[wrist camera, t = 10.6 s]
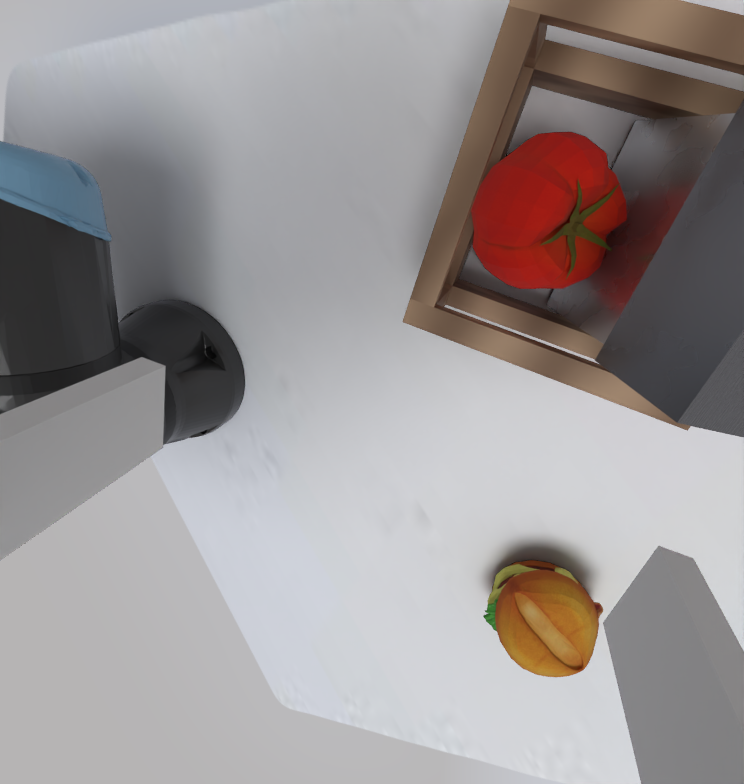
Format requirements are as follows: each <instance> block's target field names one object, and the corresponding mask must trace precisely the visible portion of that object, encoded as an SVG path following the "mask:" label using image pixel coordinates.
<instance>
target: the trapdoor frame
mask: <svg viewBox="0 0 744 784" xmlns="http://www.w3.org/2000/svg"><path fill="white" fill-rule="evenodd" d="M547 24H548V25H552V26H556V27H560V28H564V29H567V30H571V31H575V32H579V33H583V34H587V35H591V36H595V37H598V38H602V39H606V40H610V41H614V42H618V43H622V44H626V45H630V46H633V47H637V48H641V49H645V50H649V51H653V52H657V53H661V54H665V55H668V56H672V57H676V58H680V59H684V60H688V61H692V62H696V63H699V64H703V65H707V66H711V67H715V68H719V69H723V70H727V71H731V72H734V73H738V74H742V75H744V15H739V14H735V13H731V12H727V11H723V10H719V9H714V8H710V7H706V6H702V5H698V4H693V3H689V2H685V1H681V0H510V2H509V5H508V8H507V11H506V14H505V17H504V20H503V23H502V26H501V29H500V32H499V35H498V38H497V41H496V44H495V47H494V50H493V53H492V56H491V59H490V62H489V65H488V68H487V71H486V74H485V77H484V80H483V83H482V86H481V89H480V92H479V95H478V98H477V101H476V104H475V107H474V110H473V113H472V116H471V119H470V122H469V125H468V128H467V131H466V134H465V136H464V139H463V142H462V145H461V148H460V151H459V154H458V157H457V160H456V163H455V166H454V169H453V172H452V175H451V178H450V181H449V184H448V187H447V190H446V193H445V196H444V199H443V202H442V205H441V208H440V211H439V214H438V217H437V220H436V223H435V226H434V229H433V232H432V235H431V238H430V241H429V244H428V247H427V250H426V253H425V256H424V259H423V262H422V265H421V268H420V271H419V274H418V277H417V280H416V283H415V286H414V289H413V292H412V295H411V298H410V301H409V304H408V307H407V310H406V313H405V316H404V319H403V322H404V323H407V324H409V325H412V326H414V327H417V328H420V329H422V330H425V331H428V332H430V333H433V334H436V335H438V336H441V337H443V338H446V339H449V340H451V341H454V342H457V343H459V344H462V345H464V346H467V347H470V348H472V349H475V350H478V351H480V352H483V353H485V354H488V355H491V356H493V357H496V358H499V359H501V360H504V361H506V362H509V363H512V364H514V365H517V366H520V367H522V368H525V369H527V370H530V371H533V372H535V373H538V374H541V375H543V376H546V377H548V378H551V379H554V380H556V381H559V382H562V383H564V384H567V385H569V386H572V387H575V388H577V389H580V390H583V391H585V392H588V393H591V394H593V395H596V396H598V397H601V398H604V399H606V400H609V401H612V402H614V403H617V404H619V405H622V406H625V407H627V408H630V409H633V410H635V411H638V412H640V413H643V414H646V415H648V416H651V417H654V418H656V419H659V420H661V421H664V422H667V423H669V424H672V425H675V426H677V427H680V428H682V429H685V430H688V429H689V428H690V426H689V425H685V424H680V423H677V422H675V421H674V420H673V419H671V418H670V417H669V416H667V415H666V414H665V413H663V412H662V411H661V410H660V409H658V408H657V407H656V406H654V405H653V404H652V403H650V402H649V401H648V400H646V399H645V398H644V397H642V396H641V395H640V394H638V393H637V392H636V391H635V390H633V389H632V388H631V387H629V386H628V385H627V384H625V383H624V382H623V381H621V380H620V379H619V378H617V377H616V376H615V375H613V374H612V373H611V372H610V371H608V370H607V369H606V368H604V367H603V366H602V365H600V364H597V363H594V362H592V361H589V360H586V359H584V358H581V357H578V356H575V355H573V354H570V353H567V352H565V351H562V350H559V349H556V348H554V347H551V346H548V345H546V344H543V343H540V342H538V341H535V340H532V339H529V338H527V337H524V336H521V335H519V334H516V333H513V332H510V331H508V330H505V329H502V328H500V327H497V326H494V325H492V324H489V323H486V322H483V321H481V320H478V319H475V318H473V317H470V316H467V315H464V314H462V313H459V312H456V311H454V310H451V309H448V308H446V307H444V306H445V305H449V306H451V307H454V308H457V309H460V310H462V311H465V312H468V313H470V314H473V315H476V316H479V317H481V318H484V319H487V320H489V321H492V322H495V323H498V324H500V325H503V326H506V327H508V328H511V329H514V330H517V331H519V332H522V333H525V334H527V335H530V336H533V337H536V338H538V339H541V340H544V341H546V342H549V343H552V344H555V345H557V346H560V347H563V348H565V349H568V350H571V351H574V352H576V353H579V354H582V355H584V356H587V357H590V358H593V359H596V357H597V355H598V354H599V352H600V350H601V348H602V347H603V345H604V344H603V343H601V342H600V341H598V340H597V339H595V338H594V337H592V336H591V335H590V334H588V333H587V332H585V331H584V330H582V329H581V328H579V327H578V326H576V325H575V324H573V323H572V322H570V321H569V320H568V319H566V318H565V317H563V316H562V315H559V314H556V313H553V312H550V311H548V310H545V309H542V308H539V307H536V306H534V305H531V304H528V303H525V302H522V301H520V300H517V299H514V298H511V297H508V296H506V295H503V294H500V293H497V292H494V291H492V290H489V289H486V288H483V287H480V286H478V285H475V284H472V283H469V282H467V281H464V280H461V279H459V277H460V274H461V272H462V269H463V266H464V264H465V261H466V258H467V256H468V253H469V251H470V248H471V245H472V243H473V237H474V227H473V220H472V213H471V209H472V206H473V203H474V200H475V198H476V195H477V192H478V189H479V187H480V185H481V183H482V182H483V180H484V179H485V177H486V176H487V174H488V173H489V171H490V170H491V168H492V167H493V166H494V165H496V164H497V163H498V162H500V161H501V160H502V159H504V158H505V155H506V153H507V150H508V148H509V145H510V142H511V140H512V137H513V134H514V132H515V129H516V126H517V124H518V121H519V119H520V116H521V113H522V111H523V108H524V105H525V103H526V100H527V97H528V95H529V92H530V89H531V87H532V85H533V86H536V87H540V88H543V89H547V90H550V91H554V92H558V93H561V94H565V95H568V96H572V97H575V98H579V99H582V100H586V101H590V102H593V103H597V104H600V105H604V106H607V107H611V108H615V109H618V110H622V111H625V112H629V113H632V114H636V115H640V116H643V117H647V118H650V119H664V118H677V117H690V116H703V115H717V114H730V113H736V112H737V110H738V108H739V106H740V105H741V103H742V101H743V99H744V92H743V91H739V90H735V89H731V88H727V87H724V86H720V85H716V84H712V83H708V82H705V81H701V80H697V79H693V78H689V77H686V76H682V75H678V74H674V73H670V72H667V71H663V70H659V69H655V68H651V67H648V66H644V65H640V64H636V63H632V62H629V61H625V60H621V59H617V58H613V57H610V56H606V55H602V54H598V53H594V52H591V51H587V50H583V49H579V48H575V47H572V46H568V45H564V44H560V43H556V42H553V41H549V40H545V37H546V30H547Z"/></svg>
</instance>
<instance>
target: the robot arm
mask: <svg viewBox="0 0 744 784" xmlns="http://www.w3.org/2000/svg"><path fill="white" fill-rule="evenodd" d="M109 241H111V234H110V233H108V231H107V225H106V220H105V214H104V209H103V203H102V197H101V192H100V188H99V186H98V183H97V181H96V180H95V178H94V177H93V176H92V174H91V173H90V172H89V171H88V170H86V169H85V168H84V167H83V166H81V165H80V164H78V163H76V162H74V161H72V160H69V159H66V158H62V157H59V156H55V155H52V154H48V153H44V152H40V151H37V150H33V149H29V148H25V147H21V146H17V145H13V144H9V143H5V142H1V141H0V560H2V559H3V558H5V557H6V556H7V555H9V554H10V553H12V552H13V551H15V550H16V549H17V548H19V547H20V546H22V545H23V544H25V543H26V542H27V541H29V540H30V539H32V538H33V537H35V536H36V535H38V534H39V533H41V532H42V531H43V530H45V529H46V528H48V527H49V526H50V525H52V524H54V523H55V522H56V521H58V520H59V519H61V518H62V517H64V516H65V515H67V514H68V513H69V512H71V511H72V510H74V509H75V508H77V507H78V506H79V505H81V504H82V503H84V502H85V501H87V500H88V499H90V498H91V497H92V496H94V495H95V494H97V493H98V492H100V491H101V490H102V489H104V488H105V487H107V486H108V485H110V484H111V483H113V482H114V481H116V480H117V479H118V478H120V477H121V476H123V475H124V474H126V473H127V472H128V471H130V470H131V469H133V468H134V467H136V466H137V465H139V464H140V463H141V462H143V461H144V460H146V459H147V458H149V457H150V456H152V455H153V454H154V453H156V452H157V451H159V450H160V449H162V448H163V445H164V444H168V443H172V442H177V441H181V440H184V439H187V438H193V437H199V436H203V435H206V434H208V433H211V432H213V431H214V430H216V429H218V428H219V427H220V426H222V425H223V424H225V423H226V422H227V421H229V420H230V419H231V418H232V417H233V416H234V414H235V413H236V412H237V410H238V408H239V406H240V404H241V402H242V398H243V394H244V372H243V367H242V363H241V360H240V357H239V354H238V352H237V349H236V347H235V345H234V344H233V342H232V340H231V339H230V337H229V336H228V334H227V333H226V331H225V330H224V329H223V328H222V327H221V325H220V324H219V323H218V322H217V321H216V320H215V319H213V318H212V317H211V316H210V315H209V314H207V313H206V312H204V311H203V310H201V309H199V308H198V307H196V306H193V305H191V304H189V303H186V302H182V301H177V300H163V301H158V302H154V303H150V304H146V305H143V306H140V307H138V308H136V309H134V310H133V311H131V312H130V313H129V314H127V315H126V316H125V317H124V318H123V319H122V320H121V321H120V323H119V324H118V316H117V308H116V300H115V291H114V283H113V274H112V266H111V257H110V247H109ZM603 624H604V628H605V633H606V637H607V641H608V645H609V649H610V654H611V658H612V662H613V666H614V670H615V675H616V679H617V683H618V687H619V692H620V696H621V700H622V704H623V708H624V713H625V717H626V721H627V725H628V729H629V734H630V738H631V742H632V746H633V750H634V755H635V759H636V763H637V767H638V771H639V776H640V780H641V784H744V651H743V649H742V648H741V646H740V644H739V642H738V640H737V638H736V636H735V635H734V633H733V631H732V629H731V627H730V625H729V623H728V622H727V620H726V618H725V616H724V614H723V612H722V611H721V609H720V607H719V605H718V603H717V601H716V599H715V598H714V596H713V594H712V592H711V590H710V588H709V587H708V585H707V583H706V581H705V579H704V577H703V575H702V574H701V572H700V570H699V568H698V566H697V564H696V562H695V561H694V559H693V558H691V557H688V556H685V555H682V554H680V553H677V552H674V551H672V550H669V549H666V548H663V547H661V546H658V547H657V549H656V550H655V551H654V553H653V554H652V556H651V557H650V558H649V560H648V561H647V563H646V564H645V565H644V567H643V568H642V569H641V571H640V572H639V574H638V575H637V576H636V578H635V579H634V581H633V582H632V583H631V585H630V586H629V588H628V589H627V590H626V592H625V593H624V595H623V596H622V597H621V599H620V600H619V601H618V603H617V604H616V606H615V607H614V608H613V610H612V611H611V613H610V614H609V615H608V617H607V618H606V620H605V621H604V622H603Z"/></svg>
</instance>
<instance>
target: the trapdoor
mask: <svg viewBox="0 0 744 784" xmlns="http://www.w3.org/2000/svg"><path fill="white" fill-rule="evenodd" d="M612 171H613V172H614V173H615V174H616V176H617V179H618V181H619V183H620V182H621V183H620V186H621V189H622V191H623V194H624V197H625V199H626V211H627V220H626V221H625V222H623V223H622V224H621V225H619V226H618V227H617V228H615V229H614V230H613V231H611V232H610V233H609V234H607V235H606V244H607V245H608V246H609V247H610V248H611V250H612V251H610V250H608V249H606V251H605V254H604V257H603V260H602V262H601V265H600V267H599V268H598V269H597V270H596V271H595V272H594V273H593V274H592V275H591V276H590V277H588V278H586V279H584V280H582V281H580V282H577V283H575V284H572V285H570V286H568V287H565V288H563V289H554V290H553V292H552V294H551V297H550V299H549V301H548V303H547V306H548V307H550V308H551V309H553V310H554V311H556V312H557V313H559V314H560V315H562V316H563V317H565V318H566V319H568V320H569V321H570V322H572V323H573V324H575V325H576V326H578V327H579V328H581V329H582V330H584V331H585V332H587V333H588V334H590V335H591V336H592V337H594V338H595V339H597V340H598V341H600V342H601V343H603V344H604V345H603V347H602V348H601V350H600V352H599V354H598V355H597V357H596V359H595V361H596V362H598V363H599V364H600V365H602V366H603V367H604V368H606V369H607V370H608V371H610V372H611V373H612V374H613V375H615V376H616V377H617V378H619V379H620V380H621V381H623V382H624V383H625V384H627V385H628V386H629V387H631V388H632V389H633V390H635V391H636V392H637V393H638V394H640V395H641V396H642V397H644V398H645V399H646V400H648V401H649V402H650V403H652V404H653V405H654V406H656V407H657V408H658V409H660V410H661V411H662V412H663V413H665V414H666V415H667V416H669V417H670V418H671V419H673V420H674V421H675V422H677V423H680V424H685V425H689V426H694V427H699V428H703V429H708V430H712V431H717V432H722V433H726V434H731V435H735V436H740V437H744V99H743V101H742V103H741V105H740V106H739V108H738V110H737V112H736V113H730V114H717V115H703V116H690V117H677V118H664V119H650V120H637V121H635V123H634V125H633V127H632V129H631V131H630V133H629V135H628V137H627V139H626V142H625V144H624V146H623V148H622V150H621V152H620V154H619V156H618V158H617V160H616V162H615V164H614V166H613V168H612Z"/></svg>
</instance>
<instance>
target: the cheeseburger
mask: <svg viewBox="0 0 744 784" xmlns="http://www.w3.org/2000/svg"><path fill="white" fill-rule="evenodd" d="M485 612H487V613H489V614H486V615H484V618H485V619H486V622H488V623H489V624H490V625H491V626H492V627H493V629H494V630H496V631H497V632H498V635H499V638H500V642H501V643H502V645H503V646H504V648H505V650H506V651H507V653H508V654H509V656H510V657H511V659H512V660H514V661H515V662H516V663H517V664H518V665H520V666H521V667H522V668H523V669H526V670H528V671H530V672H532V673H534V674H537V675H542V676H548V677H563V676H570V675H573V674H576V673H578V672H580V671H582V670H584V668H585V667H586V666H587V664H588V663H589V660H590V658H591V656H592V654H593V650H594V646H595V642H596V638H597V634H598V627H599V621H598V618H599V616H600V614H601V613H602V612H603V608H602V606H601V604H600V603H596V602H593V600H592V599H591V597H590V596H589V595H588V593H587V592H586V590H585V589H584V588H583V587H582V586H581V584H580V582H579V581H578V580H577V579H575V578H574V577H573V576H572V574H571V573H570V572H569V571H567V570H566V569H563V568H560V567H558V566H556V565H554V564H552V563H548V562H542V561H535V560H528V561H522V562H515V563H513V564H511V565H509V566H508V567H505V568H503V569H502V570H501V571H500V572H499V573H498V574H497V575H496V577H495V581H494V585H493V587H492V593H491V594H490V596H489V599H488V607H487V611H486V610H485Z"/></svg>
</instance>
